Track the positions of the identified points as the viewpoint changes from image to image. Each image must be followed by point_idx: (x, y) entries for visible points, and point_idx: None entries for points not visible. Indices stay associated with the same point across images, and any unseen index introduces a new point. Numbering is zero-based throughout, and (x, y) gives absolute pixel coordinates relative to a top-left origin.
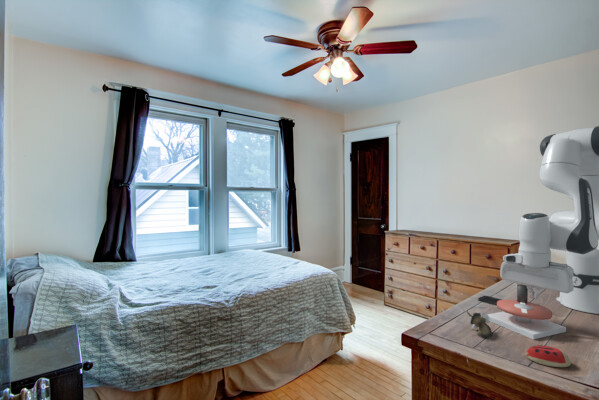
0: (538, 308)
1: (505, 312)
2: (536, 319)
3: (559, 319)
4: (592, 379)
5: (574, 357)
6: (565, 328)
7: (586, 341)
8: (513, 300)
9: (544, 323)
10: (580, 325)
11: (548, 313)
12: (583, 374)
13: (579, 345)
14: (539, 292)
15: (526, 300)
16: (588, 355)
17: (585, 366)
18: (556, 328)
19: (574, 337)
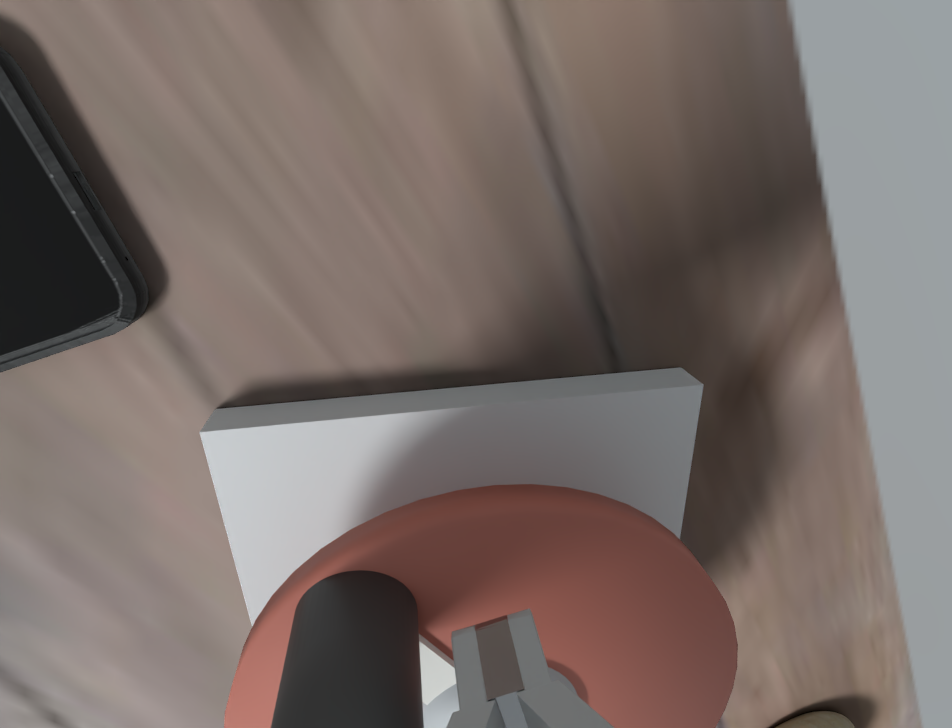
0: (585, 619)
1: (269, 591)
2: (491, 469)
3: (482, 61)
4: (918, 723)
5: (835, 646)
6: (696, 387)
7: (822, 394)
8: (274, 666)
9: (579, 487)
10: (678, 17)
11: (711, 644)
12: (891, 723)
13: (812, 500)
14: (591, 717)
15: (419, 651)
16: (872, 568)
17: (884, 670)
18: (677, 487)
19: (754, 408)
